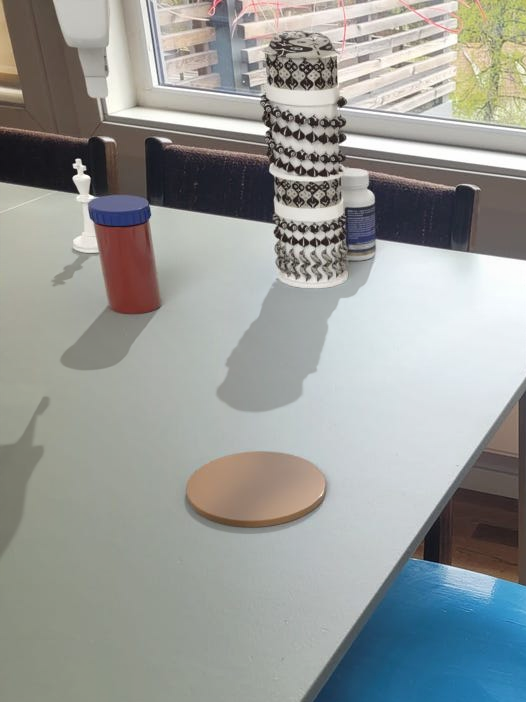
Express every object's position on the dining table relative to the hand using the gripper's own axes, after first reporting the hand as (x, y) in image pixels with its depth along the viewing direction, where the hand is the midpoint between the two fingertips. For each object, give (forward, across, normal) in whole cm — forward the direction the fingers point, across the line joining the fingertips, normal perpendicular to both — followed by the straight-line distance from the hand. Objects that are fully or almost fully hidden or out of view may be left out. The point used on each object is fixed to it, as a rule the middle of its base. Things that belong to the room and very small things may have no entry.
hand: (99, 86), depth 96 cm
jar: (+21, 0, 0) cm, 21 cm away
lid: (+11, 0, 0) cm, 11 cm away
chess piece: (+22, -20, -5) cm, 30 cm away
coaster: (+21, +42, +9) cm, 48 cm away
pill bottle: (+21, -14, +27) cm, 37 cm away
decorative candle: (+21, -6, +20) cm, 30 cm away
